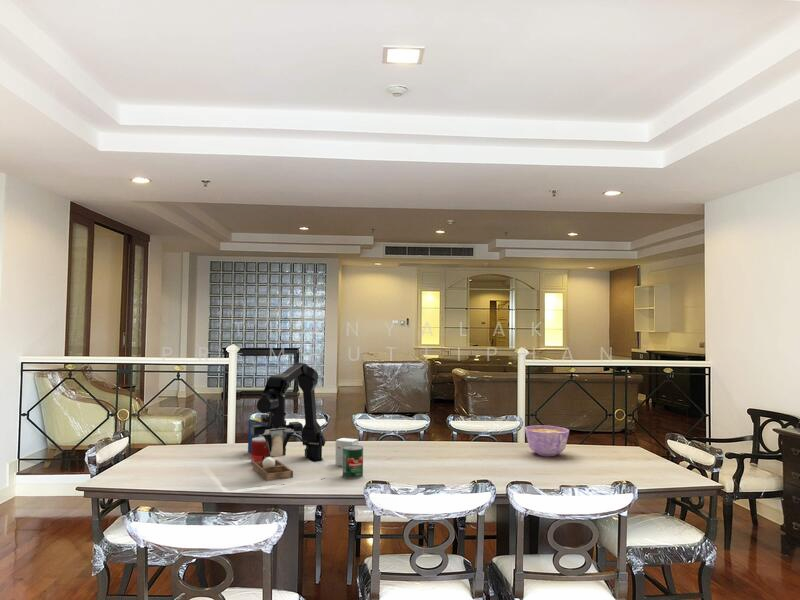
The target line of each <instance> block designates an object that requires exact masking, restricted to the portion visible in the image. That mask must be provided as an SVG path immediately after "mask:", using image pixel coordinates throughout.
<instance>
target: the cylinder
mask: <svg viewBox="0 0 800 600" xmlns="http://www.w3.org/2000/svg"><path fill="white" fill-rule="evenodd" d="M271 446H272V448H271V452H270V456H273V457H272V458H275V457H276V458H278V457H283V456H284V455H283V437H282V436H281V435H280V434H275V435H273V436H272V437H271Z"/></svg>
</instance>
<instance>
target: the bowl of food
mask: <svg viewBox="0 0 800 600" xmlns="http://www.w3.org/2000/svg"><path fill="white" fill-rule="evenodd" d="M524 432H525V435H526V436H525V437H526V441H527V444H528V447H529V448H530V450H531V451H533V452H534V453H537V455H538V456H542V457H556V456H557V455H558V454H560V453H562V452H564V450H566V446H567V442H568V439H569V434H570V429H568V428H565V427H562V426H557V425H544V424H543V425H540V424H539V425H528V426H524Z"/></svg>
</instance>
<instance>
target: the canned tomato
mask: <svg viewBox="0 0 800 600" xmlns="http://www.w3.org/2000/svg"><path fill="white" fill-rule="evenodd" d="M363 477H364V446H362V445H359V444H358V445H349V446H344V447H343V466H342V478H345V479H353V480H354V479H355V480H357V479H361V478H363Z"/></svg>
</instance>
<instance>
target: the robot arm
mask: <svg viewBox="0 0 800 600" xmlns="http://www.w3.org/2000/svg"><path fill="white" fill-rule="evenodd" d="M295 379H296V380H297V384H298V387H299V388H300V389H301V391H302V397H303V398H302V399H303V409H304V423H305V424H304V425H303V424H302V422H299V421H289V422H288V424H287V423H286V424H285V420H286V415H287V413H286V397H288V393H287V390H288V389H290V387H291V383H292V382H293V381H294V380H295ZM318 379H319V373H318V371H316V369H314V368H313V367H310V366H309V365H308V364H306V363H305V362H295V363H293V364H292V366H290V367H288V369H286V370H285V371H283V372H282V373H278V374H274V375H270V376H269V377H268V379H267V381H266V384H265V386H264V388H263V391H262V395H261V397H260V398H259V399H258V400H257V402H256V408H257V410H258V411H259V413H260V414H261V413H262V414H261V415H260V417H261V423H262V424H263V423H266V426H263V425H261V424H260V425H252V426H251V433H252V434H254V435H262V436H264V438H265V440H266V443H267V446H268V449H269V452H271V448H272V446H271V434H270V431H277V430H284V431H282V432H283V451H284V449H285V447H286V448H287V444H288V442H289V440H290V438H291V436H292V435H294V434H295V432H301V442H302V446H305V448H304V458H305V459H307V460H308V461H310V462H317V461H323V460H324V458H323V455H322V454H323V447H325V445H326V441H327V440H326V438H325V435H324V433H323V431H322V427H321V425H320V423H319V422H318V419H317V406H316V393H315V389H316V386H317V385H318V383H319V382H318V381H319V380H318ZM267 413H268V415H267Z"/></svg>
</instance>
